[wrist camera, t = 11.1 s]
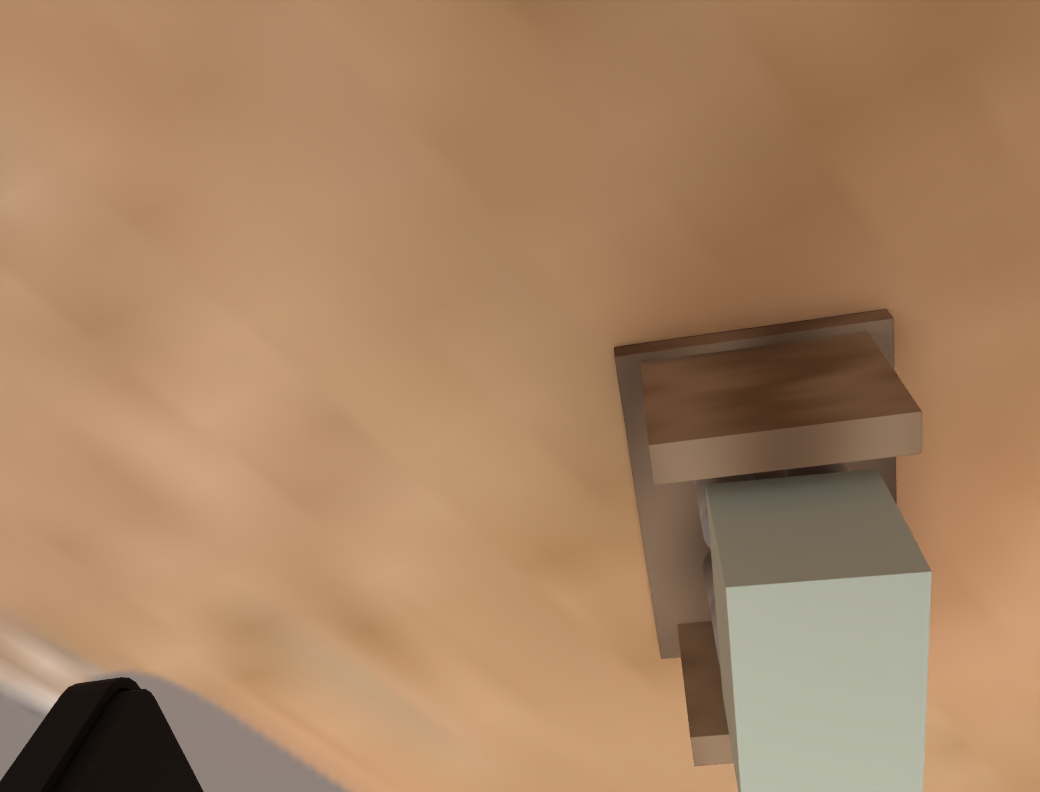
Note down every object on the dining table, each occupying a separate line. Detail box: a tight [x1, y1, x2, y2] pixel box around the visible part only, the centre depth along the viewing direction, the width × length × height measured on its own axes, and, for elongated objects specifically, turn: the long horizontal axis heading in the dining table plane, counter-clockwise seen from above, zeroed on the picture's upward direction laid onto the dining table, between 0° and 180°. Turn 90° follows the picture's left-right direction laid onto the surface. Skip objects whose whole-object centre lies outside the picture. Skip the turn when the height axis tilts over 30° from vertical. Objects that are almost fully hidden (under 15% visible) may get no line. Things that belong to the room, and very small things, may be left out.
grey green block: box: [706, 469, 932, 792], centre depth 33 cm, size 6×10×6 cm, turn 9°
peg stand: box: [614, 310, 922, 766], centre depth 39 cm, size 11×16×8 cm
